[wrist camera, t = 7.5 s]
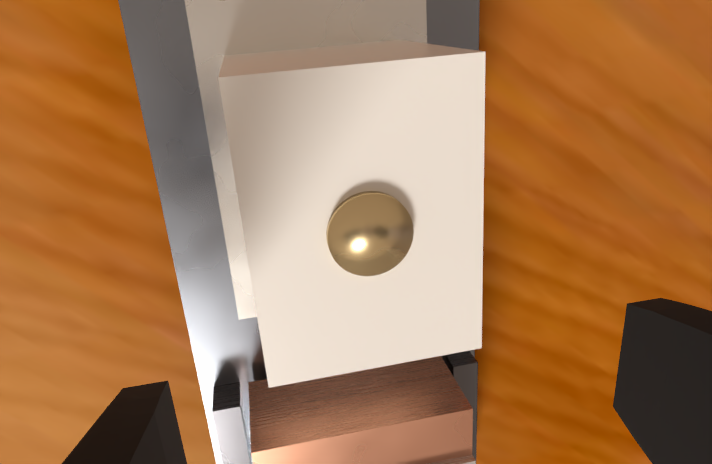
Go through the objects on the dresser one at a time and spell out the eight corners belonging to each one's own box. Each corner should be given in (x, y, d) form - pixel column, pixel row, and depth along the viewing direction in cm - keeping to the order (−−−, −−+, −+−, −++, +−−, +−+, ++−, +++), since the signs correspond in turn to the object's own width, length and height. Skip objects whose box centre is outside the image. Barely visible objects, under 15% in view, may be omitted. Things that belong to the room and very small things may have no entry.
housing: (398, 39, 14) (490, 51, 9) (407, 248, 17) (485, 353, 12) (224, 55, 14) (217, 78, 9) (258, 271, 16) (269, 394, 11)
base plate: (462, -26, 15) (500, -33, 13) (460, 457, 22) (485, 506, 20) (126, -4, 14) (106, -8, 12) (231, 506, 21) (231, 565, 18)
